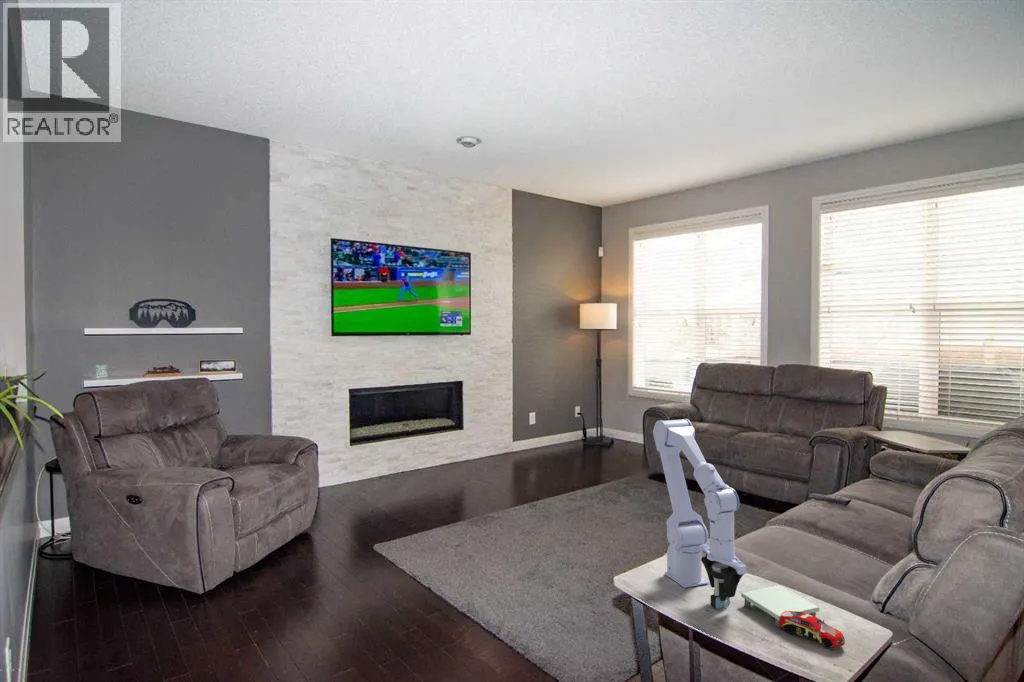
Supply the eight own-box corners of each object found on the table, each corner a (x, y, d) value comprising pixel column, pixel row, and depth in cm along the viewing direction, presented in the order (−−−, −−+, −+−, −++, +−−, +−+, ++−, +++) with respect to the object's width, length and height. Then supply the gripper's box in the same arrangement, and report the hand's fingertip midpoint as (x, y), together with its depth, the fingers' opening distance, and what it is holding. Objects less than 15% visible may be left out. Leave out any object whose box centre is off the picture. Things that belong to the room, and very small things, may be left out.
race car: (849, 644, 117) (848, 625, 117) (838, 653, 114) (838, 634, 114) (787, 620, 127) (787, 603, 127) (776, 627, 124) (775, 610, 124)
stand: (741, 604, 135) (741, 592, 135) (779, 596, 139) (779, 585, 139) (779, 629, 124) (779, 616, 124) (819, 619, 128) (819, 607, 128)
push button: (722, 597, 139) (721, 558, 139) (740, 605, 135) (739, 565, 135) (704, 604, 136) (704, 564, 136) (723, 613, 131) (722, 571, 131)
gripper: (690, 529, 141) (690, 581, 141) (729, 550, 127) (729, 607, 127) (712, 526, 143) (713, 577, 143) (753, 546, 129) (753, 602, 129)
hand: (722, 591), depth 135 cm, fingers closed on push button, 5 cm apart
